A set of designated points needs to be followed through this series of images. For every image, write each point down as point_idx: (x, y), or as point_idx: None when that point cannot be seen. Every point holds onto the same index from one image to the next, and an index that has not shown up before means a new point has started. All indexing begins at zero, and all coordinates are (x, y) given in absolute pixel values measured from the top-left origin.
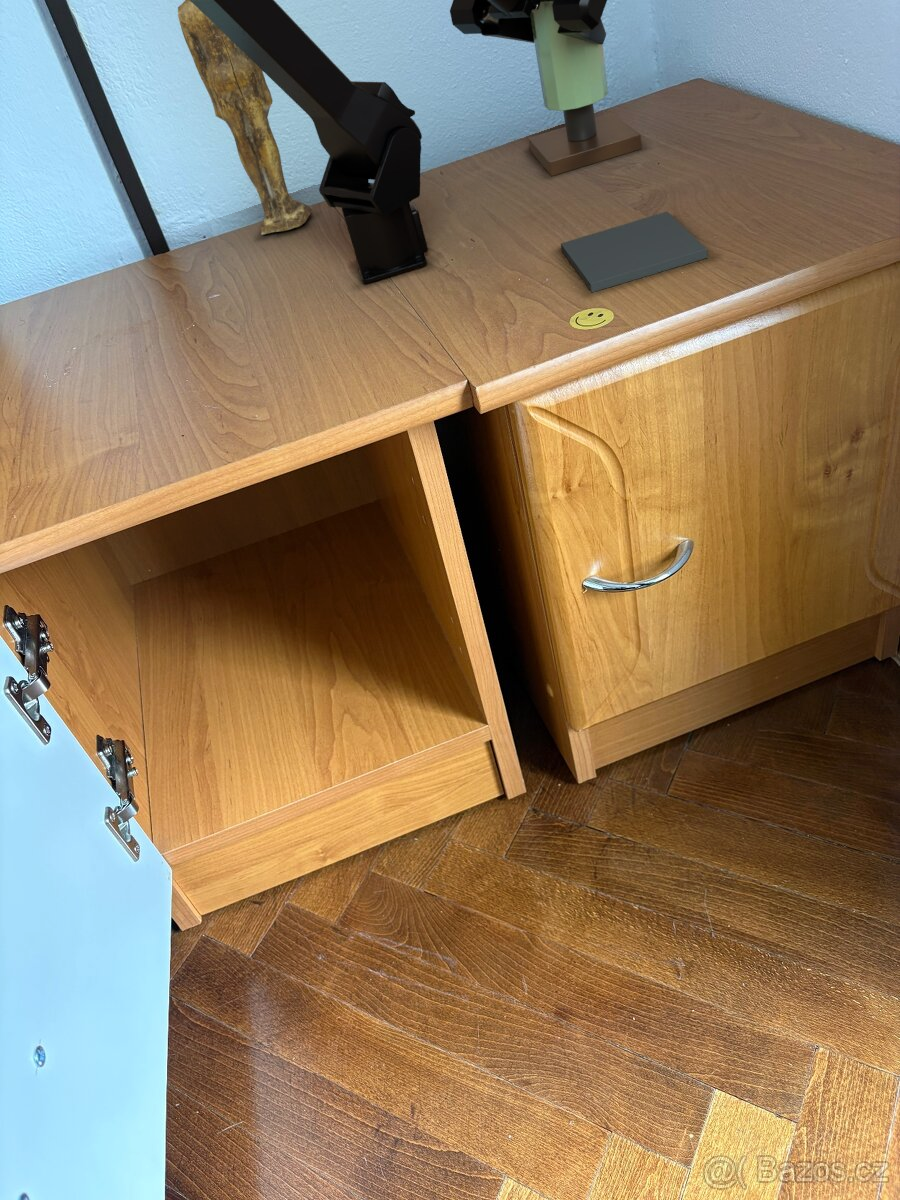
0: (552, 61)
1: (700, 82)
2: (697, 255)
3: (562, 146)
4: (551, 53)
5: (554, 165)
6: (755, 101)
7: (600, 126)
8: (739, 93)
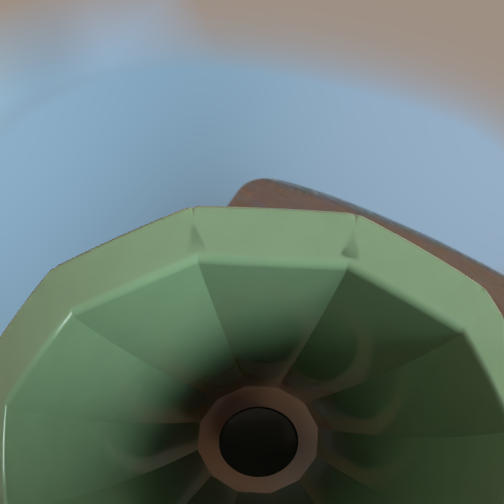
0: None
1: (260, 181)
2: None
3: (253, 479)
4: None
5: None
6: (387, 228)
7: (263, 388)
8: (345, 207)
